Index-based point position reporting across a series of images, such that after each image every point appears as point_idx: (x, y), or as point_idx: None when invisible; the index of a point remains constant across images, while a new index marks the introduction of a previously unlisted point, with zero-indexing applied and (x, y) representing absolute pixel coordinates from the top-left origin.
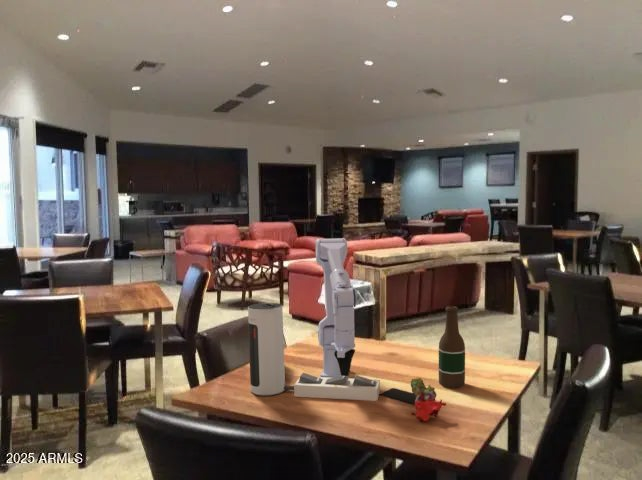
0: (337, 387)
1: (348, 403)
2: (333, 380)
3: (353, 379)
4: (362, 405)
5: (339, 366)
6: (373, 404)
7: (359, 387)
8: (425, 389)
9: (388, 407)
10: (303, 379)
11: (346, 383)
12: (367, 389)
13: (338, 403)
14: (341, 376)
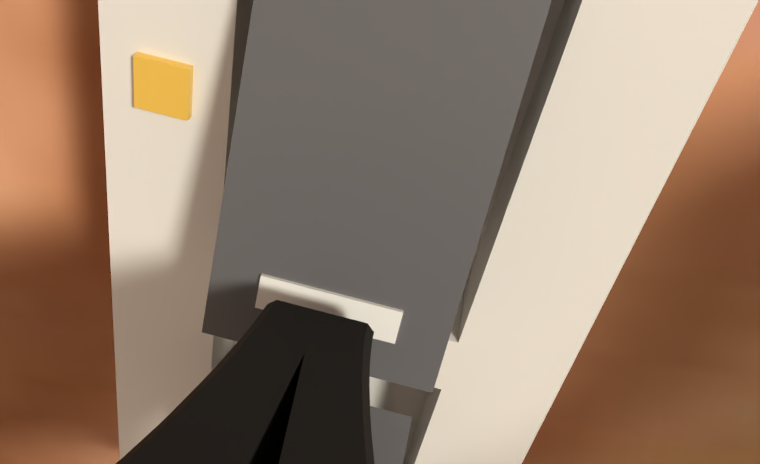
0: (107, 108)
1: (52, 152)
2: (292, 82)
3: (505, 394)
4: (31, 280)
5: (133, 452)
6: (83, 370)
7: (147, 395)
8: None
9: (43, 449)
10: None
11: (478, 262)
12: (122, 448)
13: (19, 26)
14: (429, 276)
